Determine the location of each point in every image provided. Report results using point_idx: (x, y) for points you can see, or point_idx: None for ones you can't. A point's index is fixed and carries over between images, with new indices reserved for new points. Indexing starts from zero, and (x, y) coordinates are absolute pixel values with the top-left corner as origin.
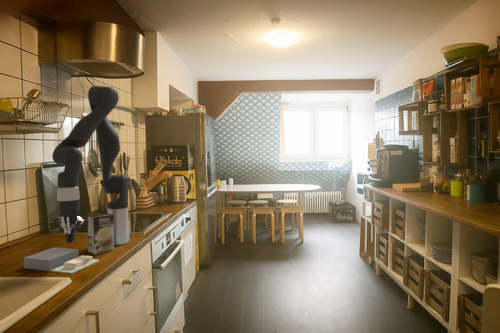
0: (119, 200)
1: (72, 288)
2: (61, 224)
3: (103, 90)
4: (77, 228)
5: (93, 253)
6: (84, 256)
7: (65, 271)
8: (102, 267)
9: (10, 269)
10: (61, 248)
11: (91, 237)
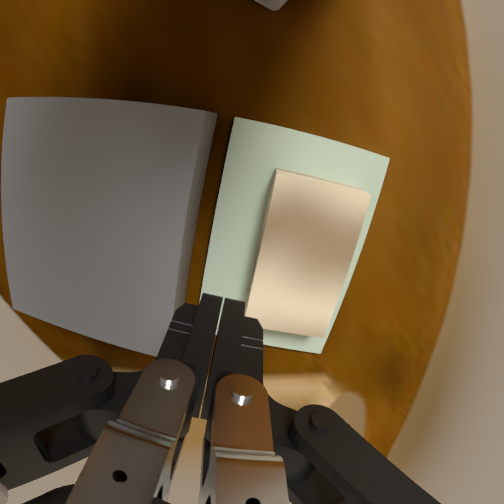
0: None
1: (379, 435)
2: (36, 462)
3: None
4: (329, 455)
5: (265, 6)
6: (312, 198)
7: (283, 346)
8: (437, 266)
9: None
10: (55, 110)
11: None
